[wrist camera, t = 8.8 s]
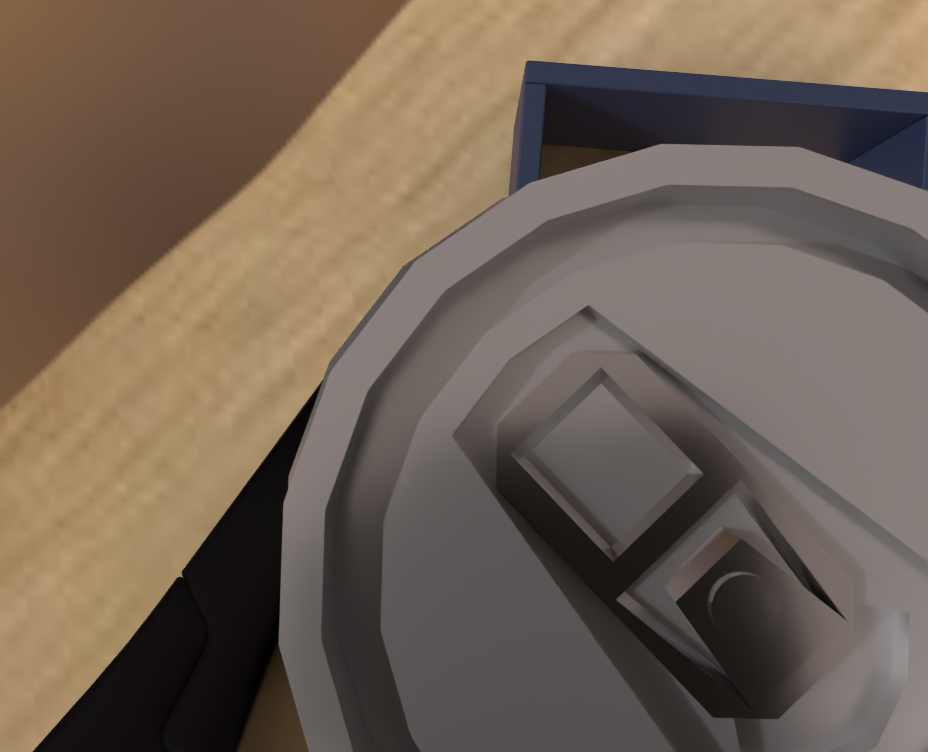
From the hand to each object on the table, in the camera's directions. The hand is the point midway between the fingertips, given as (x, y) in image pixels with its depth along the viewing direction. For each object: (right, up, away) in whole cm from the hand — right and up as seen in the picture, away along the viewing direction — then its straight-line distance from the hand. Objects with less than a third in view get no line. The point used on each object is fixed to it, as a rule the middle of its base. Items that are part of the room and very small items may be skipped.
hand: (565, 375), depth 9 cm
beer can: (0, -2, +7) cm, 7 cm away
